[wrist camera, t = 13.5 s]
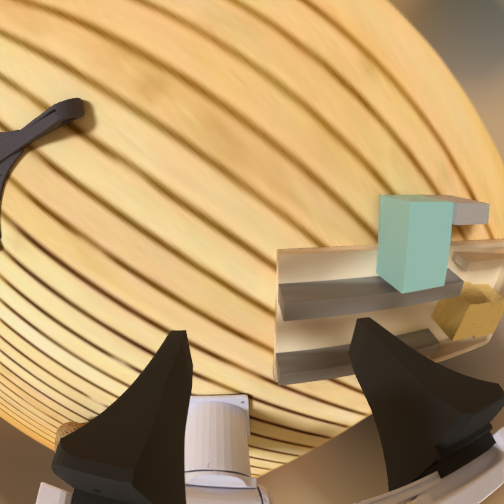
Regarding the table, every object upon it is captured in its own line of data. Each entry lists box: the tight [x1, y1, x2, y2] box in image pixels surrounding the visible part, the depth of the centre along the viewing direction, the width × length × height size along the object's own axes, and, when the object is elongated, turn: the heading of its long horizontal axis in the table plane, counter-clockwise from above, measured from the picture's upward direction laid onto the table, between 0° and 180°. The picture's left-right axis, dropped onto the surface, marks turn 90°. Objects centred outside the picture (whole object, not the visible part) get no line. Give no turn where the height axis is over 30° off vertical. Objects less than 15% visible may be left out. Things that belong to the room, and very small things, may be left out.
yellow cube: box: [473, 284, 504, 338], centre depth 22 cm, size 4×4×4 cm
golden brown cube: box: [431, 282, 492, 341], centre depth 21 cm, size 4×4×4 cm
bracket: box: [0, 98, 84, 237], centre depth 14 cm, size 14×15×3 cm
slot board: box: [273, 239, 504, 385], centre depth 22 cm, size 13×27×4 cm, turn 91°
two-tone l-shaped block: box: [376, 195, 489, 294], centre depth 18 cm, size 5×8×6 cm
